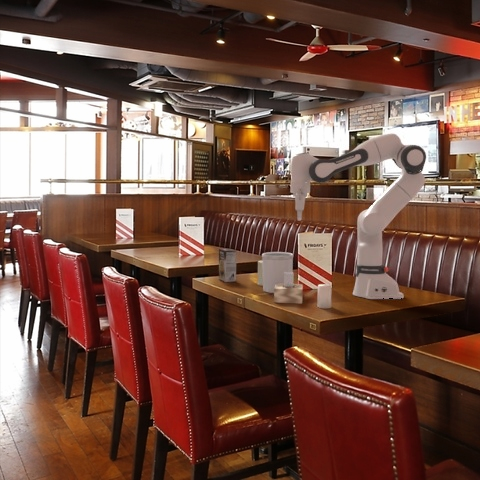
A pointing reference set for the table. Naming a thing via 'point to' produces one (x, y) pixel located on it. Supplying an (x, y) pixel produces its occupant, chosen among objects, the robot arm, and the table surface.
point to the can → (260, 273)
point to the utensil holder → (275, 268)
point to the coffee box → (227, 265)
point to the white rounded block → (324, 296)
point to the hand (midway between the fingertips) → (299, 219)
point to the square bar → (288, 279)
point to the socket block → (288, 293)
